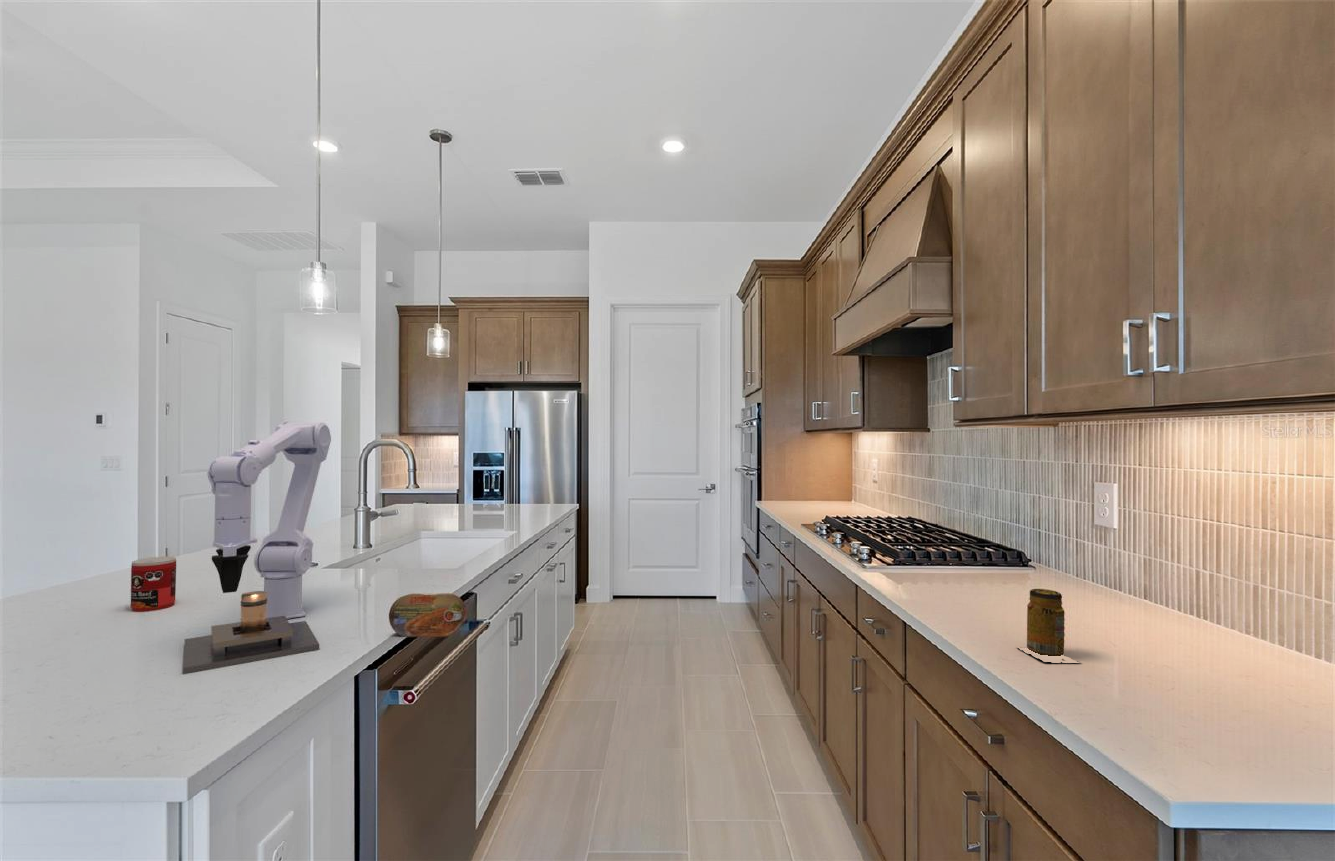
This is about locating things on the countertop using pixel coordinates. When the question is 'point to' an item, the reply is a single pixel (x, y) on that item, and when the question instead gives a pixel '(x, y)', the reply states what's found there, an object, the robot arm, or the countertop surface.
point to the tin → (427, 615)
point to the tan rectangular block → (253, 611)
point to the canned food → (153, 583)
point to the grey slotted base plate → (247, 644)
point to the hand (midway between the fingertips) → (231, 587)
